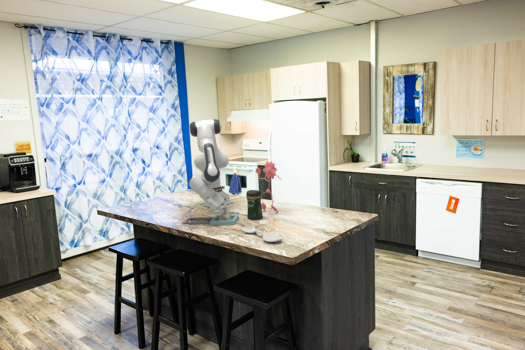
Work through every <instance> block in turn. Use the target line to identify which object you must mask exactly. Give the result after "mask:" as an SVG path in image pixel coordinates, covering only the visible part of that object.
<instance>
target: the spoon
mask: <svg viewBox="0 0 525 350" xmlns="http://www.w3.org/2000/svg"><path fill="white" fill-rule="evenodd" d="M239 230H240V231H242V232H245V233H248V234H254V233H258V234H261V235H262V240H263V241H265V242H268V243H277V242H280V241H282V239H283V238H282V237H281V236H276V235H273V234H268V233H266V232H264V231H263V230H259V229H256V227H255V226H254V225H253V224H251V225H250V226H248V227H244V228H243V227H239Z"/></svg>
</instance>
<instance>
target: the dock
mask: <svg viewBox="0 0 525 350" xmlns="http://www.w3.org/2000/svg"><path fill="white" fill-rule="evenodd" d="M213 217H214V218H213V219H212V220H209V223H210V224H209V225H210V226H235V224H236V223H237V222H238V221H239V219H240V215H239V214H230V219H231V220H220V221H219V214H215V216H213Z"/></svg>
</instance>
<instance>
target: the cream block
mask: <svg viewBox="0 0 525 350" xmlns="http://www.w3.org/2000/svg"><path fill="white" fill-rule="evenodd" d="M220 207H221V208H222V209H224V210H225V211H224V212H223V213H222V212H221V211H219V210H218V215H219V219H218V221H220V220H232V219H230V215H231V208H230V207H231V205H226V206H220Z"/></svg>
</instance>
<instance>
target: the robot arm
mask: <svg viewBox="0 0 525 350" xmlns="http://www.w3.org/2000/svg"><path fill="white" fill-rule="evenodd" d="M188 131H189V133H190V135H191V136H192V137H193V138H194V137H195V138H196V141H197V143H196V144H197V148H198V150H199V151H200V152H201V153H202V154H198V155H196V156H195V158H194V160H193V164H194V166H195V168H197V169H198V170H199V171H200V172H201V173H198V174H193V175H192V176H191V178H190V179H189V181H188V186H189V188H190V189H191V190H192V191H193V192H194V193H195V194H197V195H199V197H200V198H201V199H202V200H203V201H204V204H205V205H204V206H205V207H206V208H207V207H208V208H210V209H211V210H212V211H216V210H217V211H218V212H219V211H221V212H222V213H223V212H224V211H225V210H224V209H222V208H221V207H220V206H228V205H230V204H232V202H233V203H234V201H233V200H231V199H230V195H229V193H227V192H225V191H224V189H225V186H223V185H222V186H221V177H220V176H221V171H220V169H224V168H226V167H228V165H229V160H230V159H229V157H228V155H226V154H225V153H224V152H222V151H221V150H220V148H219V147H218V145H217V144H218V143H217V138H216V135H218V134H220V133H221V131H222V123H221V121H220V120H219V119H217V118H214V119H203V120H197V121H192V122H190V124H189V127H188ZM227 204H228V205H227Z"/></svg>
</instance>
